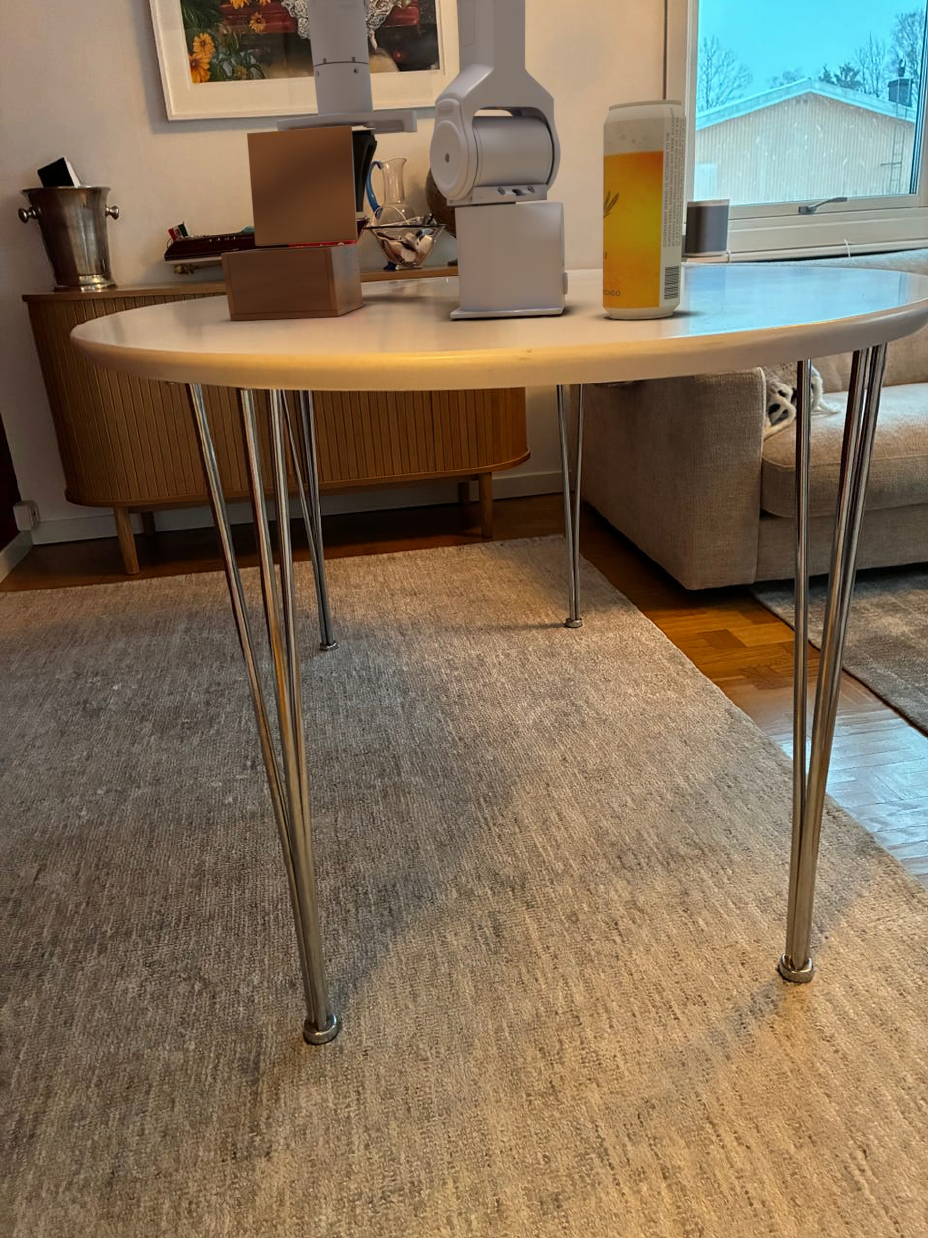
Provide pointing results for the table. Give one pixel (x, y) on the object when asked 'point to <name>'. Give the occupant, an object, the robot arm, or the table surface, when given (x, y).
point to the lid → (303, 186)
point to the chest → (292, 282)
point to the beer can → (643, 208)
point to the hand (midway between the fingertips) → (354, 212)
